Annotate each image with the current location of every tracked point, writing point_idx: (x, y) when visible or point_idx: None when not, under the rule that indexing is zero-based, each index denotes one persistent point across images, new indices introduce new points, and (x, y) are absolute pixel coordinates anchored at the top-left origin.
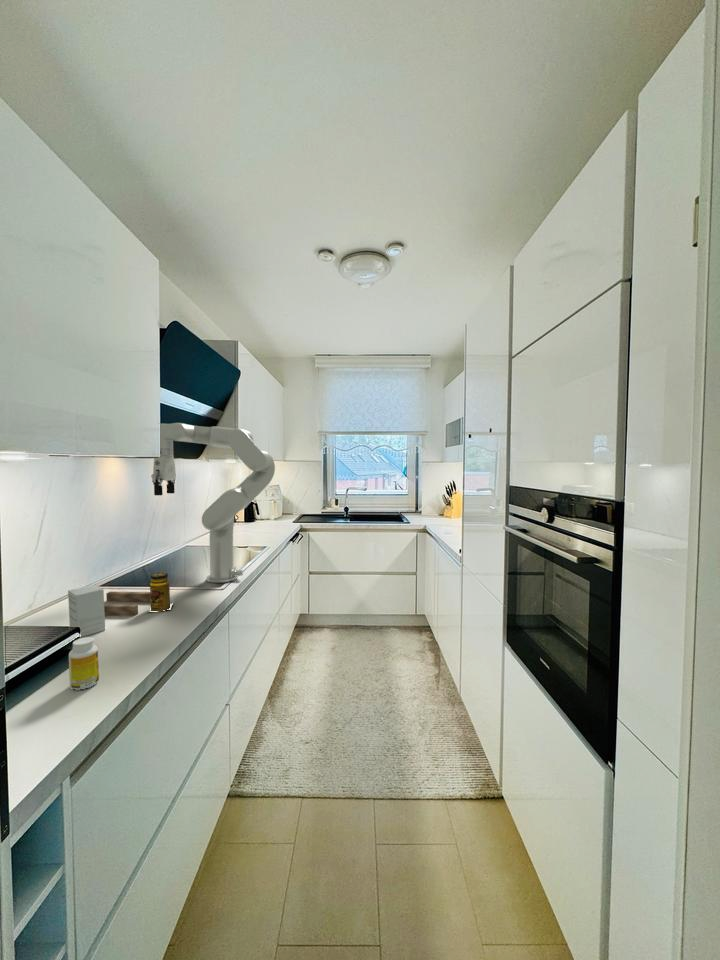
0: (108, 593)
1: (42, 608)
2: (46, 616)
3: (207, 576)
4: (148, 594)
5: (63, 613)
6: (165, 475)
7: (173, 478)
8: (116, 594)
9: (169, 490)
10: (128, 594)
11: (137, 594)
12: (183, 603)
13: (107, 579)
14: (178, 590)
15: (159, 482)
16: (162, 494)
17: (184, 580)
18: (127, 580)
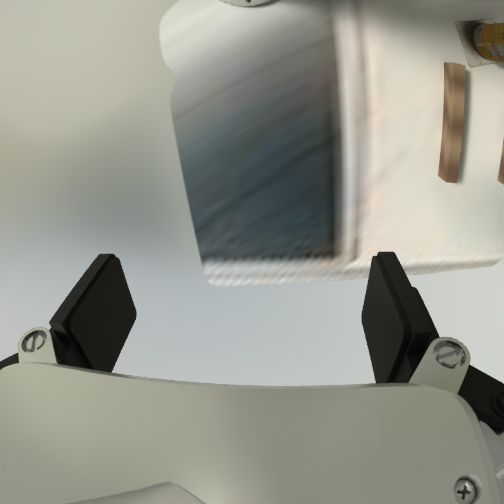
0: (457, 177)
1: (463, 266)
2: (499, 233)
3: (254, 3)
4: (464, 82)
5: (493, 216)
6: (454, 477)
7: (73, 382)
8: (458, 158)
9: (119, 311)
10: (461, 130)
11: (463, 108)
12: (455, 2)
13: (283, 273)
14: (370, 40)
15: (458, 383)
16: (379, 253)
17: (274, 64)
18: (288, 223)
